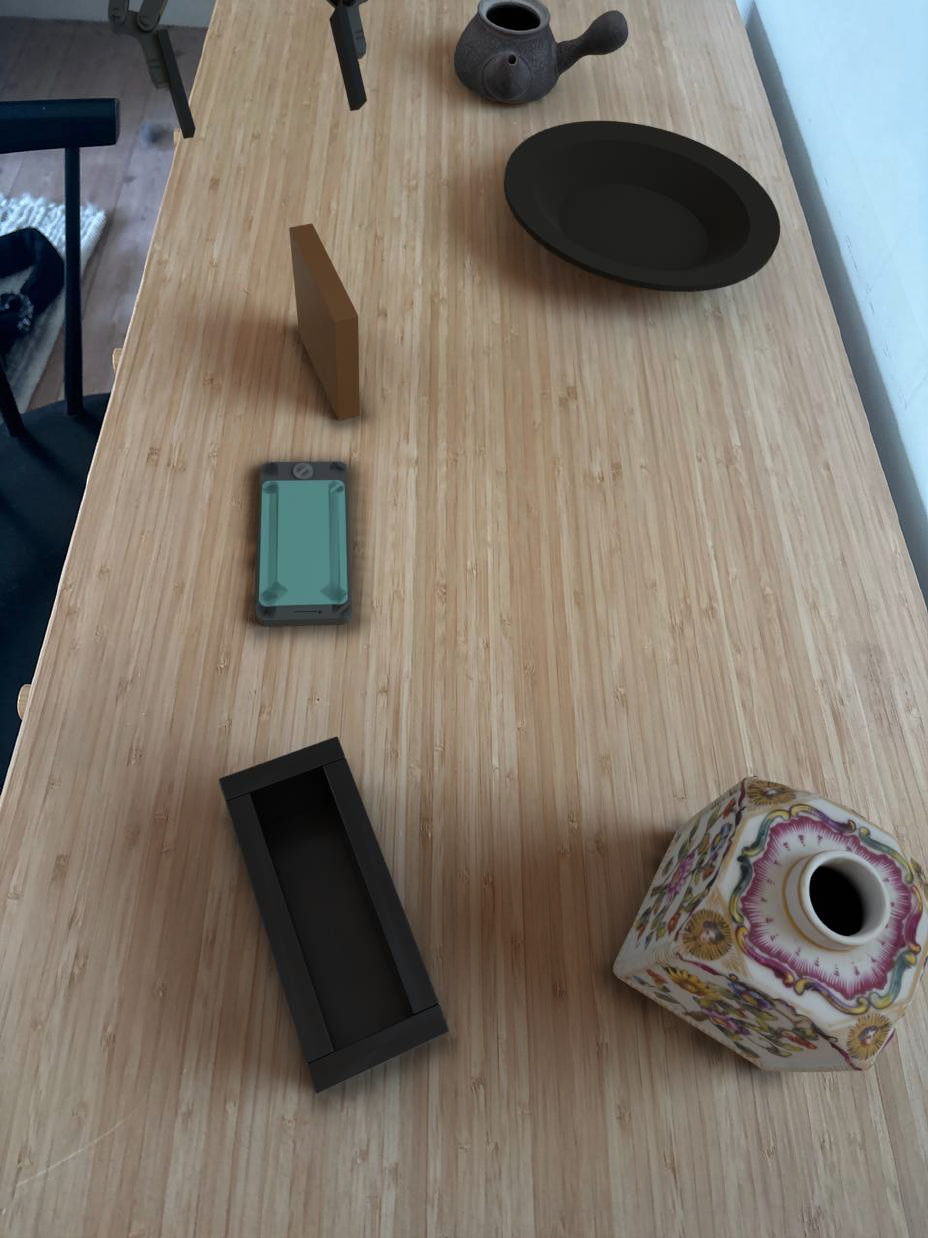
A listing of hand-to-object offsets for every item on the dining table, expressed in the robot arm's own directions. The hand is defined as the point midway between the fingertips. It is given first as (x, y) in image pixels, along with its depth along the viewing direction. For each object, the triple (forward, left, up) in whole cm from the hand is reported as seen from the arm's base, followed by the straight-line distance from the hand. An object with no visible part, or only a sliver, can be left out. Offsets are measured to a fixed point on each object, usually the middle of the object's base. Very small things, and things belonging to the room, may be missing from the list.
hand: (276, 120), depth 68 cm
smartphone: (+27, -7, -17) cm, 33 cm away
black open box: (+56, -13, -17) cm, 60 cm away
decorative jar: (+66, +11, -17) cm, 70 cm away
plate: (+1, +35, -17) cm, 40 cm away
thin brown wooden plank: (+10, 0, -17) cm, 20 cm away
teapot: (-26, +35, -17) cm, 47 cm away
